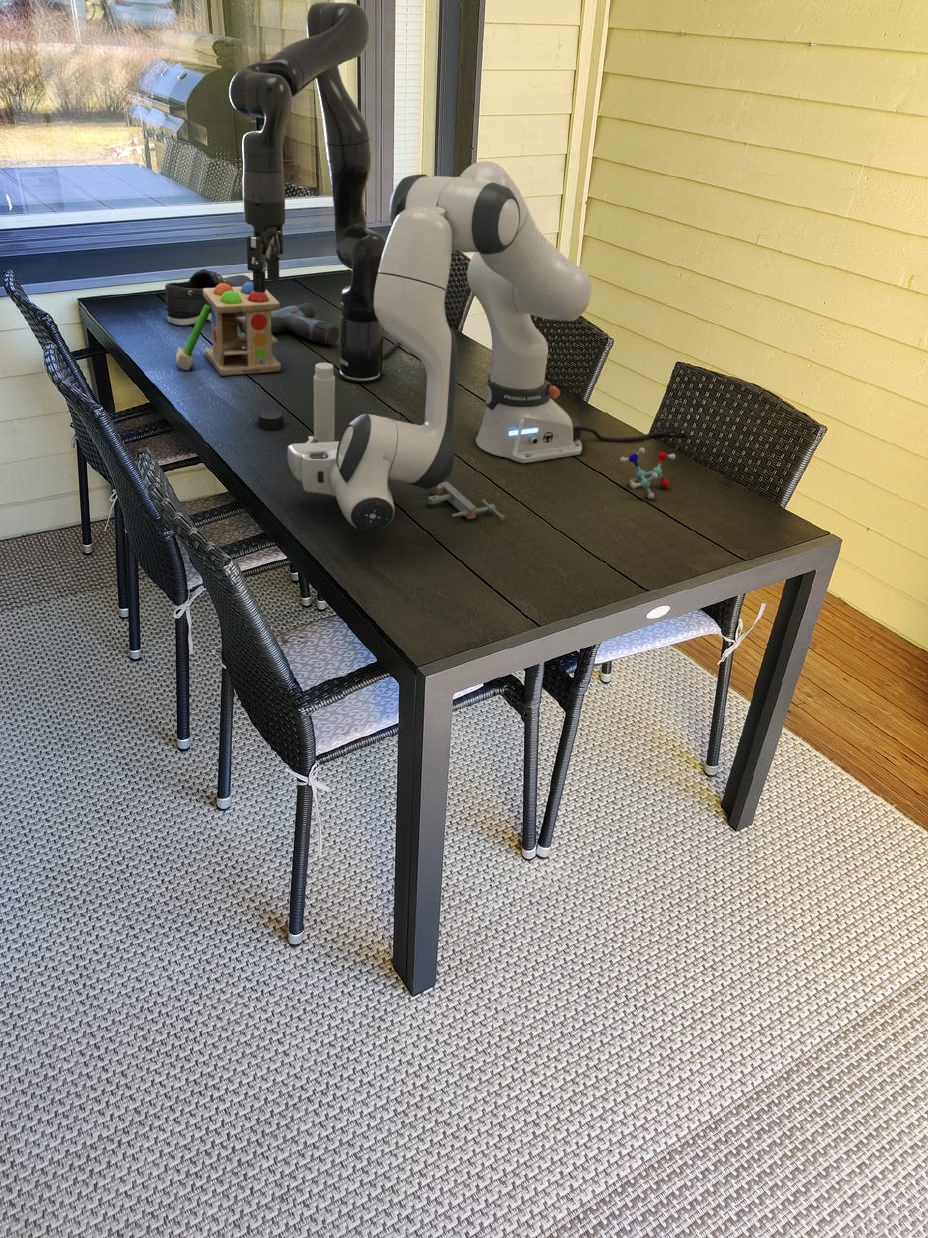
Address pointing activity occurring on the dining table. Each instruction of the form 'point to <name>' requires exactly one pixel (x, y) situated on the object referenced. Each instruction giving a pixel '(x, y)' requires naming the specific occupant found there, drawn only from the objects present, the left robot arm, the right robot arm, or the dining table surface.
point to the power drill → (304, 324)
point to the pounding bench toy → (229, 347)
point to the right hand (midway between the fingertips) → (337, 438)
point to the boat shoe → (194, 295)
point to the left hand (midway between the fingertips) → (266, 285)
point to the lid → (270, 419)
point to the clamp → (459, 501)
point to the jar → (324, 402)
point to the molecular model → (641, 473)
